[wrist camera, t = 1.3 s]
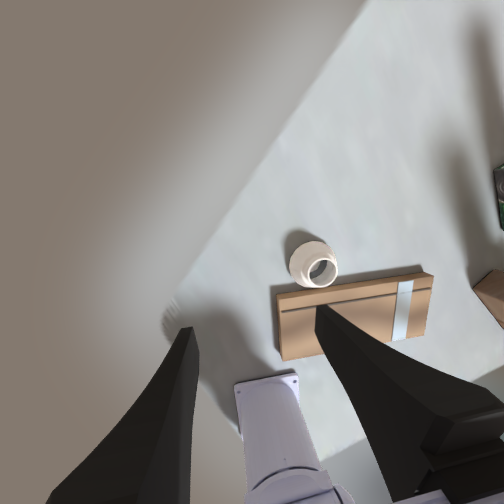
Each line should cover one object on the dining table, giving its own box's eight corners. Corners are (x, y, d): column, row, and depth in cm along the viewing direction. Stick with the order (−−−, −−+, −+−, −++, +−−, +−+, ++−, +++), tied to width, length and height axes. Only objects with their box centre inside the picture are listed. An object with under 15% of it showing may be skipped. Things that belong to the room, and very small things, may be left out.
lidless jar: (340, 265, 23) (316, 230, 22) (356, 274, 21) (330, 236, 19) (304, 292, 24) (279, 260, 22) (315, 306, 21) (287, 270, 20)
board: (415, 329, 27) (424, 335, 26) (280, 353, 25) (283, 362, 24) (424, 272, 25) (434, 276, 24) (276, 294, 23) (279, 300, 22)
